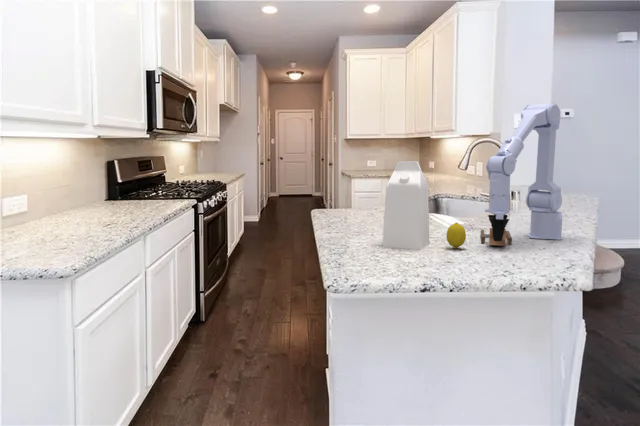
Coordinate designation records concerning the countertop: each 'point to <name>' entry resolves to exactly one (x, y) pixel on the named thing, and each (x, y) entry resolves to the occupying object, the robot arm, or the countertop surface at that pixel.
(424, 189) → the milk
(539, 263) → the countertop surface
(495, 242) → the block
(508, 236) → the channel
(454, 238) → the lemon
